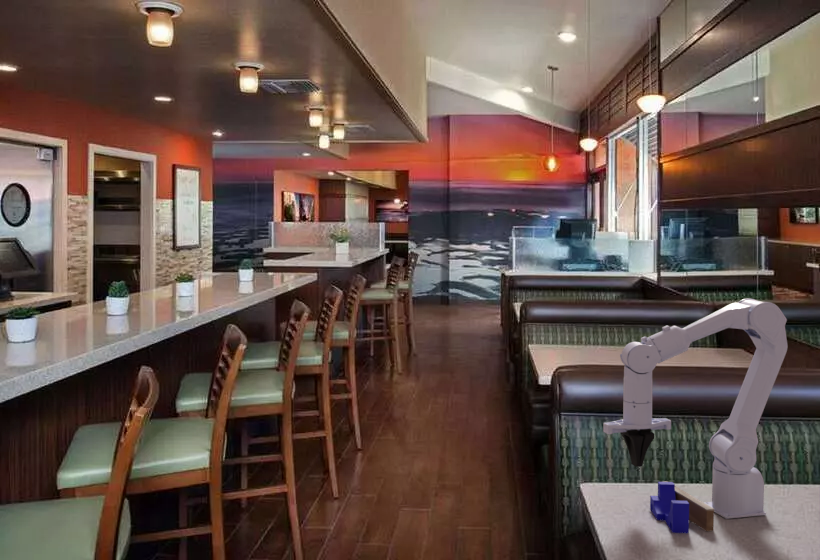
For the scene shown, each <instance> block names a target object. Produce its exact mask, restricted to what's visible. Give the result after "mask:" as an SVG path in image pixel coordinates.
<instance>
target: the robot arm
mask: <svg viewBox="0 0 820 560" xmlns="http://www.w3.org/2000/svg"><path fill="white" fill-rule="evenodd" d="M787 321H788V319H787V318H786V316H785V315H784V313H783V311H782V310H781V309H780V307H779V306H778V305H776V304H775V303H774V302H771V301H760V300H757V299H754V298H750V297H749V298H747V297H746V298H743V299H741V300H739V301H737V302H736V301H735V302H732V303H729V304H727V305H725V306H724V307H722V308H720V309H718V310H716V311H714V312H712V313H710V314H709V315H706V316H704V317H701V318H700V319H697V320H696V321H694V322H692V323H690V324H688V325H686V326H685V327H679V326H677V325H672V326H670V325H665V326H662V327H661V329H662V330H661V331H659V332H656V333H654V334H652V335H650V336H648V337H647V336H643V337H640V340H641V341H640V342H639V341H631V342H628V343H627V344H626V345H625V346H624V348H622V351H621V353H620V354H619V357H620V361H621V362H622V364H623V365H624V367H623V368H624V369H623V395H622V396H623V397H622V398H623V399H622V400H623V401H622V402H623V404H622V405H623V408H622V409H623V410H622V412H623V414H622V419H618V420H614V421H608V422H603V424H602V425H603V427H602V429H603V431H602V432H603V433H605V434H607V435H612V434H616V433H617V434H618V433H620V435H621V437H622V439H623V441H624V442H625V445H626V447H627V451H628V454H629V458H630V462H631V463H630V464H631V465H632V466H634V467H636V468H639V467H643V464H644V461H645V457H646V455H647V452H648V449H649V447H650V445H651V444H652V442H653V440H654V439H655V433H654V432H652V431H655V430H656V431H657V430H666V431H667V430H672V420H671V419H668V418H666V417H662V418H661V417H660V418H659V417H658V418H653V371H654V369H655V368H656V366H657V364H661V363H663V362H665V361H667V360H669V359H672V358H674V357H677V356H679V355H682V354H683V353H685V352H687V351H688V350H689V348H690V345H691V344H692V343H693V342H695V341H698V340H700V339H704V338H706V337H709V336H710V335H711V336H712V335H713V334H716V333H719V332H721V331H724V330H727V329H738V330H743V331H744V332H745V333H746V334H747V335H748V336H749V338H750V339H751V341H752V343H753V344H754V346H755V348H756V349H755V351H754V353H753V354H754V355H753V356H752V359H751V361H750V364H749V366H748V368H747V372H746V373H745V376H744V380H743V381H742V384H741V386H740V389H739V391H738V395H737V396H736V399H735V402H734V403H733V407H732V410H731V413H730V415H729V418H727V419H726V420H724V421H723V422H722V423H720V427H719V428H718V430H717V432H715V433H714V434H712V436H711V437H710V439H709V443H708V448H709V451H710V453H711V454H712V457H713V458H714V460H713V461H712V477H711V478H712V479H711V480H712V481H711V482H712V488H711V491H712V492H711V501H706V502H705V501H704V502H703V503H705V504H707V505H708V506H710V507H712V508H713V509H714V513H715V514H716V515H717V514H718V515H719V516H721V517H723V518H724V519H727V520H728V519H739V518H746V517H747V518H748V517H749V518H750V517H756V516H757V517H759V516H766V515H767V512H766V511H764V505H765V502H764V499H765V481H764V478H763V474H762V473H761V472H760V471H759V469H758V468H757V467H755V465H756V463H757V448H758V445H759V439H758V435H757V434H758V433H757V427H758V425H759V422H760V419H761V418H762V415H763V413H764V409H765V407H766V404H767V403H768V399H769V397H770V395H771V392H772V390H773V387H774V384H775V382H776V379H777V377H778V375H779V372H780V370H781V366H782V365H783V362H784V359H785V357H786V354H787V351H788V346H789V345H788V340H787V332H786V323H787Z"/></svg>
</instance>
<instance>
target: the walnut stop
mask: <svg viewBox="0 0 820 560" xmlns="http://www.w3.org/2000/svg"><path fill="white" fill-rule="evenodd" d="M663 482H669V481H668V480H666V481H663ZM675 498H676V500H678V501H688V503H689V522H690V523H691V522H692V523H693V524H695V525H696V526H698V527H700V528H701V529H702V530H703V531H706V532H712V531H714V521H715V520H714V519H715V518H714V517H715V516H714V514H715V512H714V509H713V508H712V507H710V506H708V505H707V504H705V503H704V502H703V501H701V500H699V498H697V497H695V496H693V495H691V494H690V493H688V492H687V491H684V490H683V489H681V488H679V487H677V486H675Z"/></svg>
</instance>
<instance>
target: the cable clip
mask: <svg viewBox="0 0 820 560" xmlns="http://www.w3.org/2000/svg"><path fill="white" fill-rule="evenodd" d="M649 497H650V499H649V500H650V501H649V505H650V506H649V509H650V511H651V513H652V514H653V516H654V518H655V519H656V520H657V521H664V522H665V523H666V525H667V526H668V528H669V529H670V531H671V533H673V534H689V531H690V527H689V526H690V523H689V522H690V520H689V503H688V501H678V500H676V498H675V483H674V482H673V481H668V482H664V481H657V495H650V496H649Z"/></svg>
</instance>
